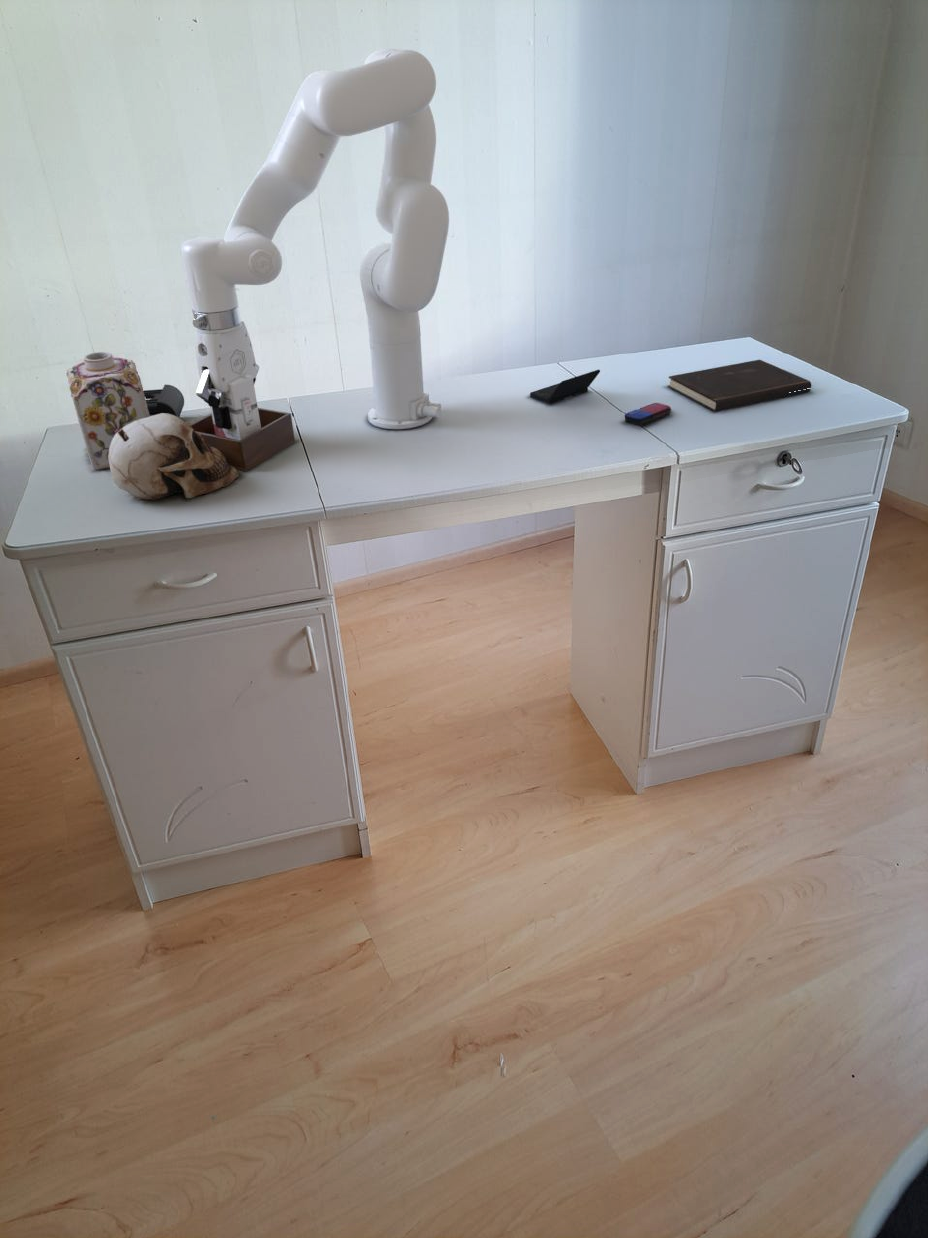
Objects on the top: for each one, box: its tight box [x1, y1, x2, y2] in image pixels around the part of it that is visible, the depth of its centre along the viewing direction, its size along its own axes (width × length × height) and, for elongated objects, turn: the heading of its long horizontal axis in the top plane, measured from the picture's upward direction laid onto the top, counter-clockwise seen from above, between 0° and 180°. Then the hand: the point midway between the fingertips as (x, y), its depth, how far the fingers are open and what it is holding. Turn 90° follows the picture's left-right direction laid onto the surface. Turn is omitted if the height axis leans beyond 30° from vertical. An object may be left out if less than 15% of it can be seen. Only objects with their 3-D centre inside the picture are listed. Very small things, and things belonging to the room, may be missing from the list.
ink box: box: [208, 374, 261, 440], centre depth 153 cm, size 9×5×12 cm, turn 47°
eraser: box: [624, 402, 672, 427], centre depth 164 cm, size 11×4×2 cm, turn 133°
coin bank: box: [108, 413, 240, 501], centre depth 142 cm, size 16×17×13 cm
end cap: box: [143, 384, 185, 418], centre depth 166 cm, size 10×7×7 cm
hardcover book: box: [667, 359, 812, 412], centre depth 175 cm, size 16×23×2 cm
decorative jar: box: [66, 351, 150, 471], centre depth 153 cm, size 12×12×18 cm
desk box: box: [189, 407, 296, 472], centre depth 156 cm, size 14×14×6 cm
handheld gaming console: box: [529, 369, 601, 406], centre depth 174 cm, size 12×7×10 cm
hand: (236, 420), depth 155 cm, fingers closed on ink box, 5 cm apart
